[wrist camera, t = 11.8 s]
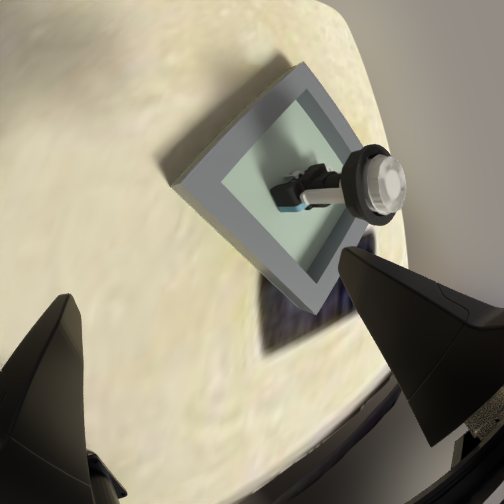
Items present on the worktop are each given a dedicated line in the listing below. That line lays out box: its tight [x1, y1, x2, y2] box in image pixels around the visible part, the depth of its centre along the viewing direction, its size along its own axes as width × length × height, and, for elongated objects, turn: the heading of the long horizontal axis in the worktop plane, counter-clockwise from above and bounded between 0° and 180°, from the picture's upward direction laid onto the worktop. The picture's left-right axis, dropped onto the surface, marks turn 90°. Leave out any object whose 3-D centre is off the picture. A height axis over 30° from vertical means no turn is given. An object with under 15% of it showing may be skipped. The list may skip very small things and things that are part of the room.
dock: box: [170, 61, 368, 315], centre depth 25 cm, size 16×16×3 cm
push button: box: [270, 144, 406, 226], centre depth 21 cm, size 7×5×10 cm
